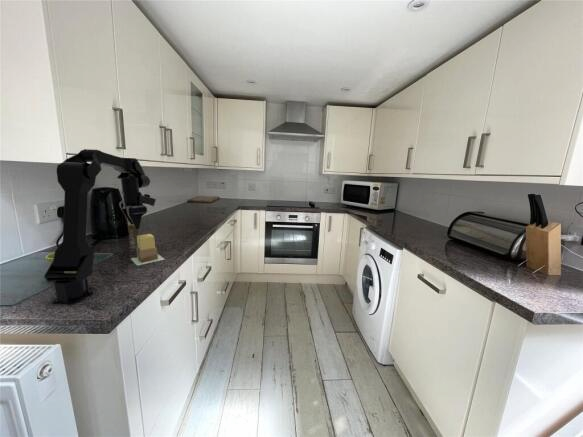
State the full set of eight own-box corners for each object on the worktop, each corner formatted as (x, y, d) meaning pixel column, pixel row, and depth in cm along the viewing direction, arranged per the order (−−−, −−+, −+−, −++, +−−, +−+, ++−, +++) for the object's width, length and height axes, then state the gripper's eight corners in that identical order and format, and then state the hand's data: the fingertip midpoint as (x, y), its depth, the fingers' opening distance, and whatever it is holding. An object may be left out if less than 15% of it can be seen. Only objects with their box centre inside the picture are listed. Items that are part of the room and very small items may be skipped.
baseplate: (164, 260, 98) (164, 259, 98) (137, 267, 91) (137, 265, 91) (156, 254, 105) (156, 253, 105) (130, 259, 98) (130, 258, 98)
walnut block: (157, 259, 98) (157, 247, 97) (141, 262, 94) (140, 250, 93) (153, 255, 102) (152, 244, 101) (137, 258, 98) (136, 247, 97)
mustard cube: (155, 247, 97) (154, 236, 96) (141, 250, 93) (140, 238, 92) (151, 244, 100) (150, 233, 99) (137, 247, 97) (136, 235, 96)
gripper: (159, 190, 95) (162, 228, 98) (146, 186, 107) (150, 219, 111) (126, 192, 87) (131, 232, 90) (117, 187, 100) (121, 223, 103)
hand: (134, 226), depth 99 cm, fingers open, 9 cm apart
